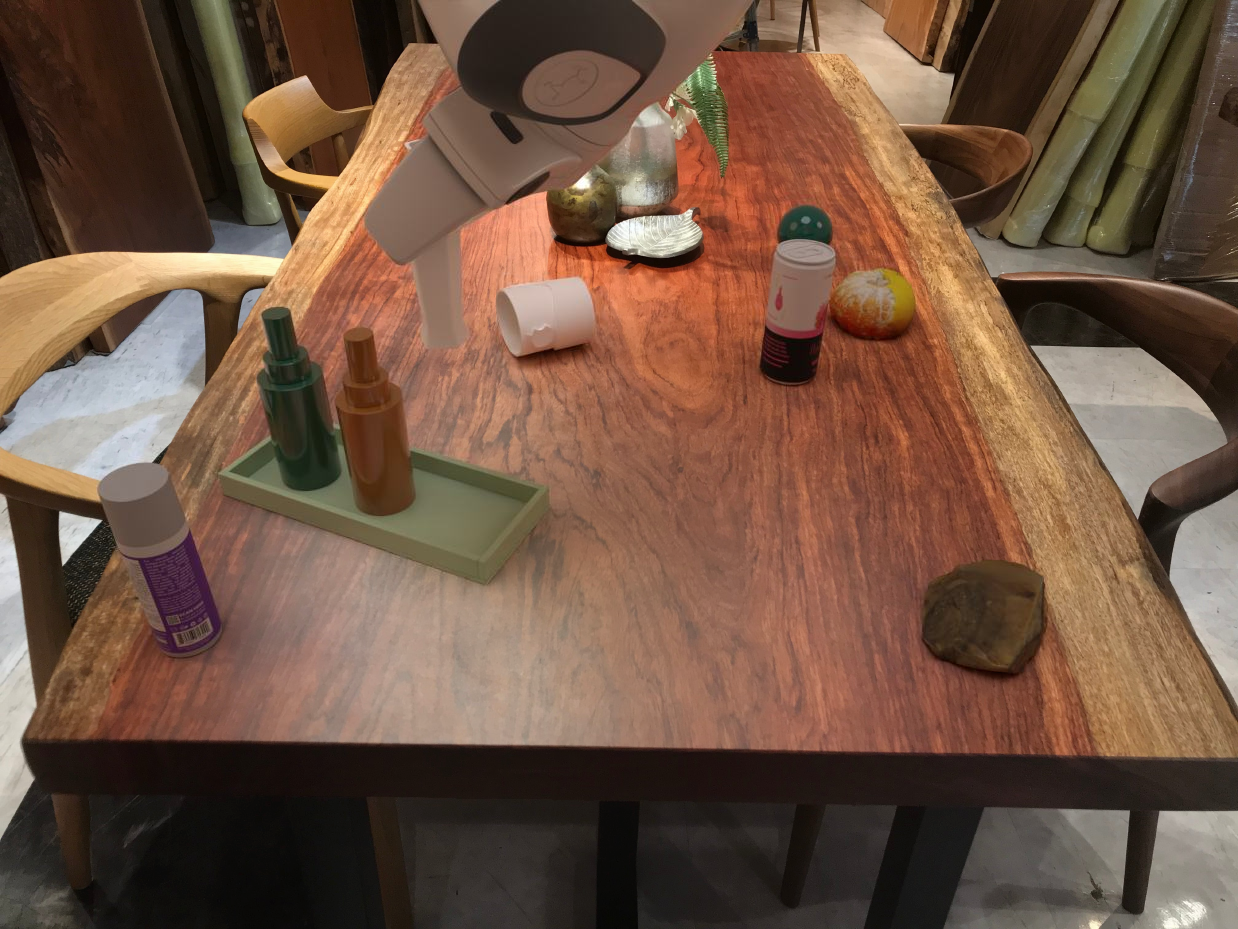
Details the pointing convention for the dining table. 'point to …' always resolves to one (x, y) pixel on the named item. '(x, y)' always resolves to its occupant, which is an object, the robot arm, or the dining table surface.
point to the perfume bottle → (440, 292)
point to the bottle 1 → (296, 408)
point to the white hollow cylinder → (545, 315)
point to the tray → (408, 509)
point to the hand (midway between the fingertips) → (426, 237)
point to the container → (161, 558)
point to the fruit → (873, 304)
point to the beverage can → (796, 310)
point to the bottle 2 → (374, 431)
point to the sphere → (805, 225)
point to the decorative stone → (986, 615)
